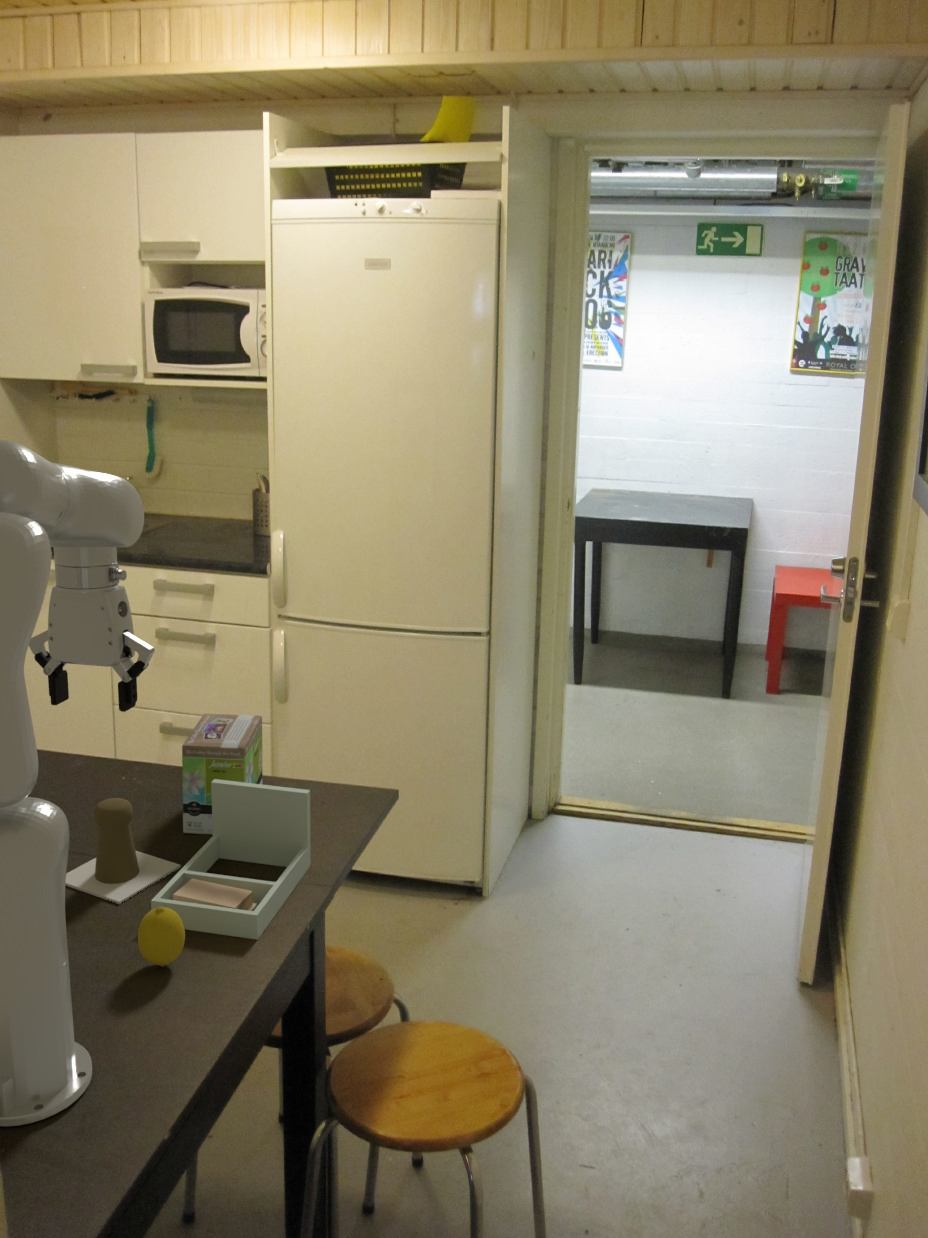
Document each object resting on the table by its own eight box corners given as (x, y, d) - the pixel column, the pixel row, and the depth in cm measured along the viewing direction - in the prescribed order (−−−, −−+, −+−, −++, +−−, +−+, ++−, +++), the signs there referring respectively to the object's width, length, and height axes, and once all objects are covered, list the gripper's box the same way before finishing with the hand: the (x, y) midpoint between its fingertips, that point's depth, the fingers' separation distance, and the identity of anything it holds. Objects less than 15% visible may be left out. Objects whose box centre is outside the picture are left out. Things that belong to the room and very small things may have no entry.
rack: (257, 940, 138) (255, 854, 134) (152, 924, 140) (148, 841, 137) (310, 866, 157) (310, 790, 154) (217, 853, 160) (214, 779, 156)
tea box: (247, 837, 165) (245, 747, 161) (181, 835, 165) (178, 745, 161) (264, 796, 180) (262, 712, 176) (204, 794, 180) (201, 711, 176)
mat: (119, 904, 145) (119, 902, 145) (55, 882, 150) (55, 879, 150) (180, 867, 155) (180, 865, 155) (118, 847, 160) (118, 845, 160)
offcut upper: (235, 921, 139) (235, 908, 138) (173, 908, 141) (172, 894, 141) (253, 904, 143) (252, 891, 142) (192, 891, 146) (192, 878, 145)
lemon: (137, 957, 133) (134, 899, 131) (183, 950, 135) (181, 892, 133) (141, 982, 128) (138, 922, 126) (188, 974, 130) (186, 915, 128)
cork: (85, 879, 150) (80, 807, 147) (111, 860, 156) (107, 790, 153) (122, 887, 149) (118, 814, 146) (147, 867, 154) (144, 796, 151)
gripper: (163, 575, 138) (168, 703, 142) (42, 567, 142) (50, 692, 145) (134, 586, 131) (140, 720, 135) (7, 577, 135) (16, 708, 138)
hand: (93, 705), depth 140 cm, fingers open, 9 cm apart
